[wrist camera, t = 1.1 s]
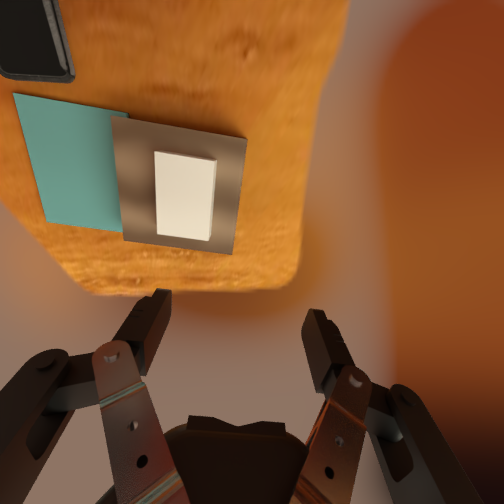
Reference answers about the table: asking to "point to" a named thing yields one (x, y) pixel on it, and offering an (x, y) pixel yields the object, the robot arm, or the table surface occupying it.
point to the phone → (34, 42)
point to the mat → (72, 161)
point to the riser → (144, 188)
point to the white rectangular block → (184, 194)
